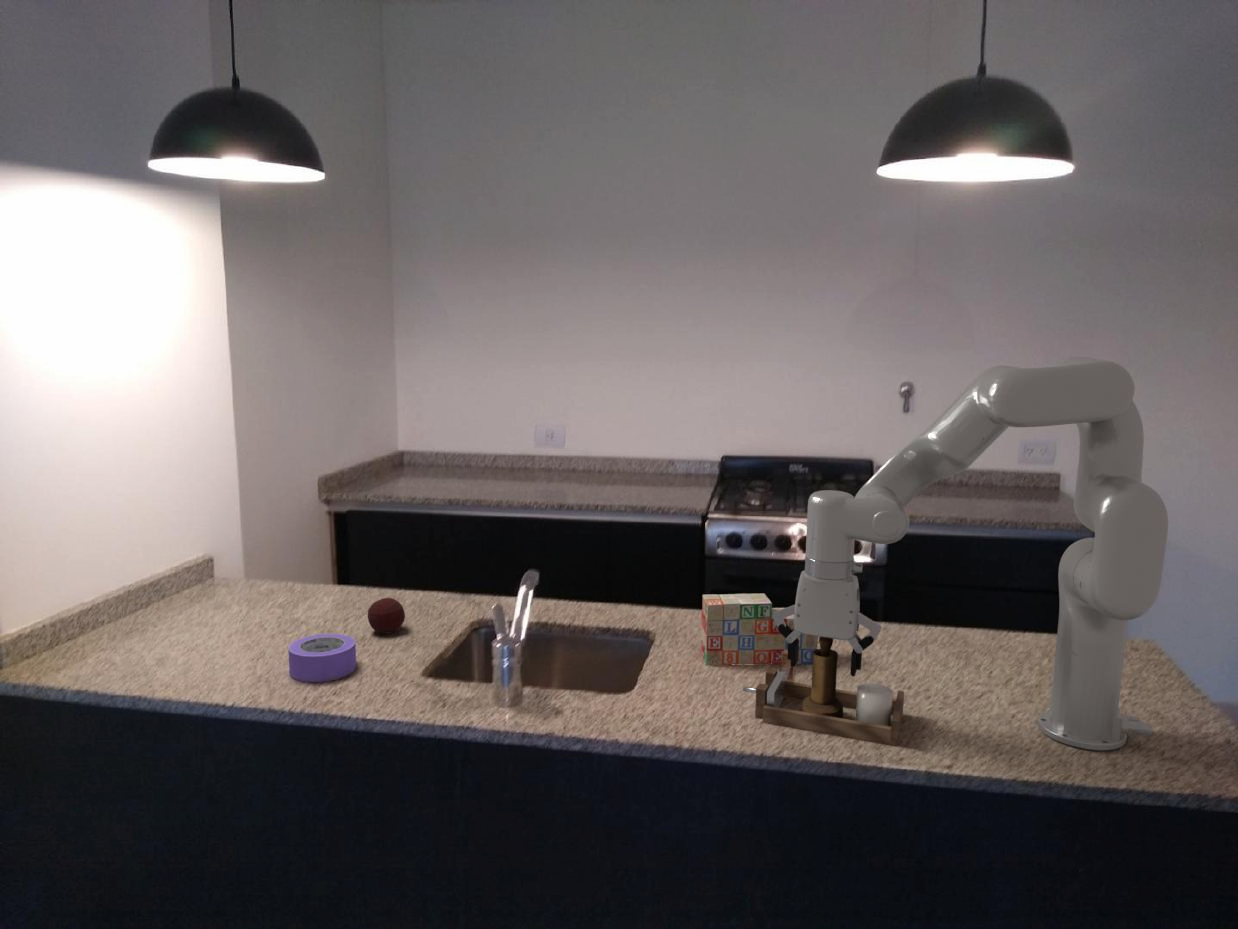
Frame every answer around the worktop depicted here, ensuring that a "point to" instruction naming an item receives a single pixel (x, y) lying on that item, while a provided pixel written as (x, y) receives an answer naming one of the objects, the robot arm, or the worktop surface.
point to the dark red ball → (386, 615)
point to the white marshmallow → (874, 704)
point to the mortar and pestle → (824, 682)
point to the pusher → (778, 682)
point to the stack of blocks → (746, 631)
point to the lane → (826, 722)
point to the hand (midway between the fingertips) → (823, 668)
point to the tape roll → (322, 657)
